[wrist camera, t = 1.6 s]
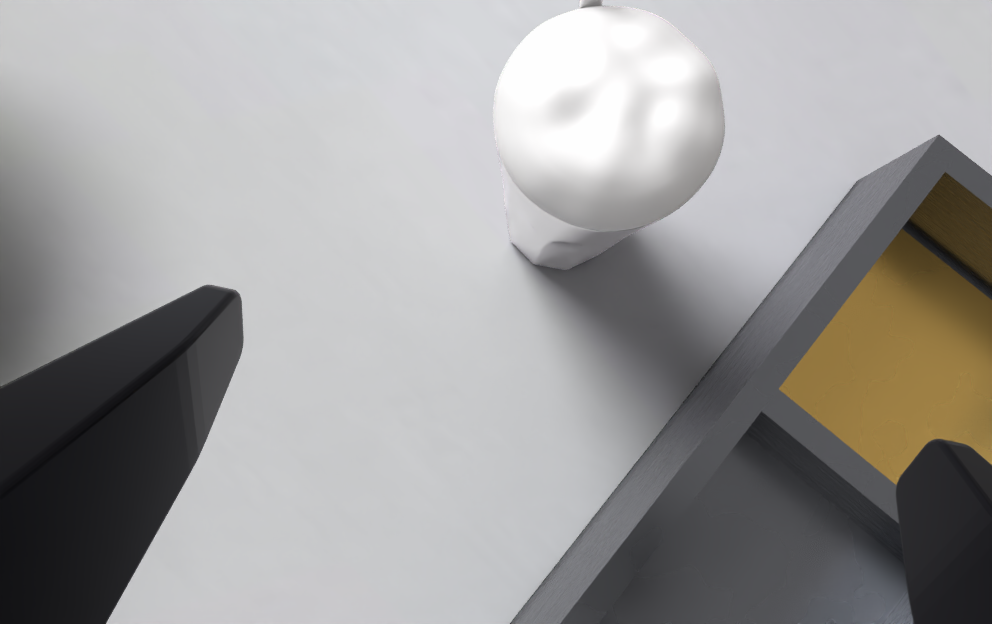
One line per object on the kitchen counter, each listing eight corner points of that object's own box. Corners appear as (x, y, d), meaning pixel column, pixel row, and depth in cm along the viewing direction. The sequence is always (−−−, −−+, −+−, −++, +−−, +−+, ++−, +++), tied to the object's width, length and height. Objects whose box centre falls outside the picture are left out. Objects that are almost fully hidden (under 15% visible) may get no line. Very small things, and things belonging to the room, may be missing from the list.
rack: (590, 1067, 20) (622, 1236, 16) (337, 843, 20) (305, 952, 16) (1088, 364, 23) (1220, 355, 19) (857, 180, 23) (938, 134, 19)
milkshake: (614, 112, 23) (727, -109, 13) (643, 280, 22) (785, 183, 12) (469, 130, 23) (472, -82, 13) (494, 301, 22) (518, 218, 12)
